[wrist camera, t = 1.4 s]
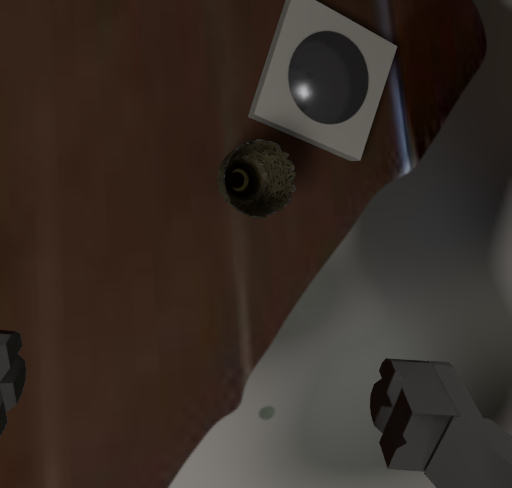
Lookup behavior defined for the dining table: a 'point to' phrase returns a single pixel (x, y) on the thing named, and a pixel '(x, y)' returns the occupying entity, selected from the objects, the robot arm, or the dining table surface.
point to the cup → (257, 178)
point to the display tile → (322, 78)
